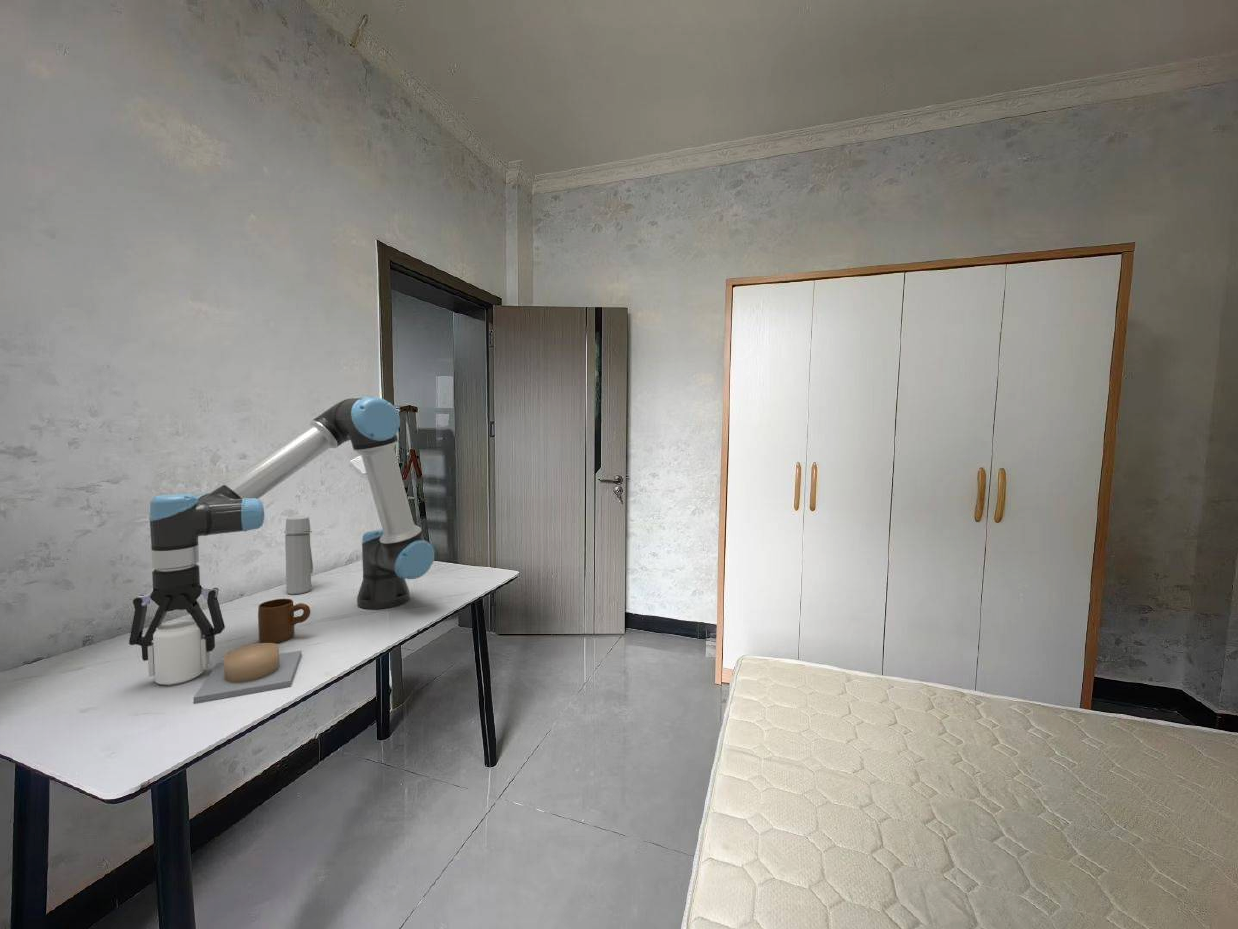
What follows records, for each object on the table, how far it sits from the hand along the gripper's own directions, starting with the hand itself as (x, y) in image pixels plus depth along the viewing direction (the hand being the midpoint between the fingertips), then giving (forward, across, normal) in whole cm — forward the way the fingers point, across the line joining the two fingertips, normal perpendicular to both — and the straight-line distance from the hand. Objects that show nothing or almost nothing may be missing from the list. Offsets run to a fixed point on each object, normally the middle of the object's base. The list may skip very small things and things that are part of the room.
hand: (180, 669), depth 107 cm
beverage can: (+2, 0, 0) cm, 2 cm away
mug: (+2, -17, -15) cm, 23 cm away
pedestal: (+2, -14, +6) cm, 15 cm away
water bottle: (+2, -15, -58) cm, 60 cm away
